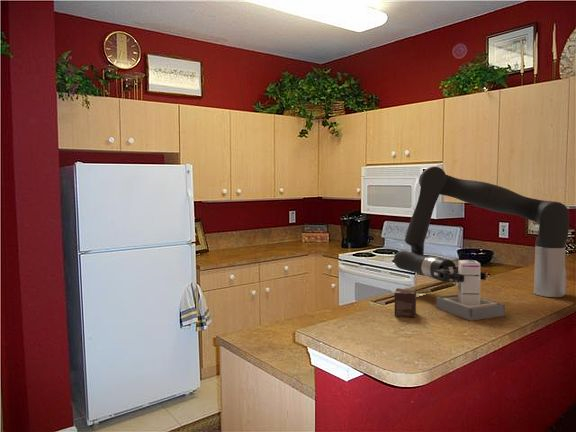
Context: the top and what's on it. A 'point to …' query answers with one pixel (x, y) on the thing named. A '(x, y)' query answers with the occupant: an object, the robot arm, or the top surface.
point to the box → (405, 302)
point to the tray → (470, 308)
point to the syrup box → (469, 282)
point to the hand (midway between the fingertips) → (474, 277)
